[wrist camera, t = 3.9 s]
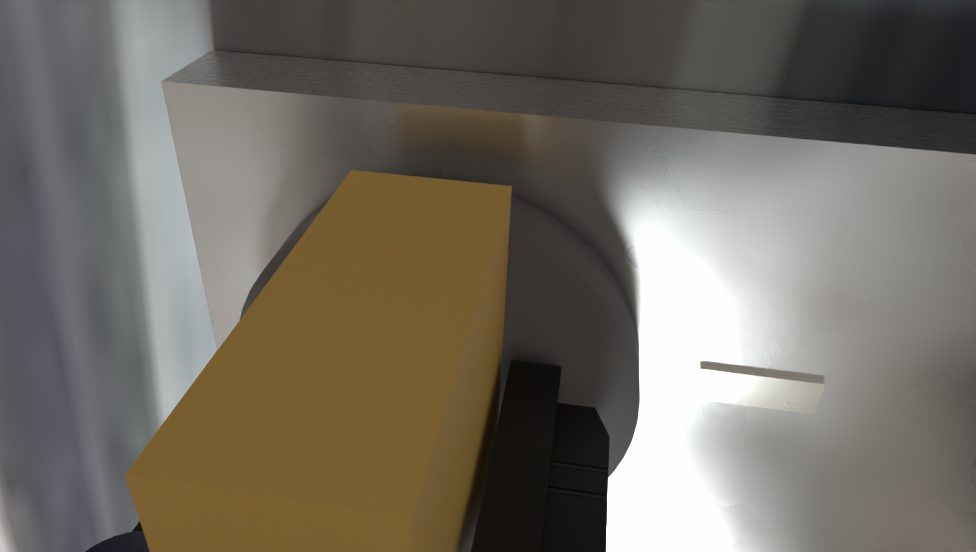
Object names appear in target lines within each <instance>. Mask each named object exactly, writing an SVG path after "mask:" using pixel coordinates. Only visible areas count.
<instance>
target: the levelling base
mask: <svg viewBox="0 0 976 552" xmlns="http://www.w3.org/2000/svg"><path fill="white" fill-rule="evenodd" d="M161 82H162V86H163V91H164V96H165V101H166V106H167V111H168V115H169V120H170V125H171V130H172V135H173V140H174V144H175V149H176V154H177V159H178V164H179V169H180V173H181V178H182V183H183V188H184V193H185V198H186V202H187V207H188V212H189V217H190V222H191V227H192V231H193V236H194V241H195V246H196V251H197V255H198V260H199V265H200V270H201V275H202V280H203V284H204V289H205V294H206V299H207V304H208V309H209V313H210V318H211V323H212V328H213V333H214V338H215V342H216V347H217V350H218V349H219V348H220V346H221V345H222V344H223V342H224V341H225V340H226V338H227V337H228V335H229V334H230V333H231V331H232V330H233V329H234V327H235V326H236V325H237V323H238V322H239V321H240V316H241V312H242V308H243V306H244V303H245V301H246V299H247V296H248V294H249V292H250V289H251V288H252V286H253V285H254V283H255V282H256V280H257V279H258V277H259V276H260V274H261V273H262V271H263V270H264V269H265V267H266V266H267V265H268V263H269V262H270V261H271V259H272V258H273V257H274V256H275V254H276V253H277V252H278V250H279V249H280V248H281V246H282V245H283V244H284V243H285V241H286V240H287V239H288V237H289V236H290V235H291V234H292V233H293V232H294V231H295V230H296V229H297V228H298V226H299V225H300V224H301V223H302V222H303V221H304V220H305V219H307V218H308V217H309V216H311V215H312V214H313V213H315V212H316V211H317V210H318V209H320V208H321V207H322V206H324V205H326V203H327V202H328V201H329V199H330V198H331V197H332V195H333V194H334V193H335V191H336V190H337V188H338V187H339V186H340V184H341V183H342V182H343V180H344V179H345V178H346V176H347V175H348V174H349V172H350V171H351V170H358V171H368V172H378V173H388V174H398V175H407V176H417V177H427V178H437V179H447V180H457V181H467V182H477V183H487V184H496V185H506V186H512V192H511V196H512V197H515V198H517V199H520V200H522V201H524V202H527V203H529V204H531V205H533V206H535V207H536V208H538V209H540V210H542V211H543V212H545V213H547V214H549V215H551V216H552V217H554V218H555V219H557V220H558V221H560V222H561V223H562V224H564V225H565V226H566V227H568V228H569V229H570V230H572V231H573V232H574V233H576V234H577V235H578V236H579V237H580V238H581V239H582V240H583V241H584V242H585V243H586V244H588V245H589V246H590V247H591V248H592V249H593V250H594V251H595V252H596V253H597V255H598V256H599V257H600V258H601V260H602V261H603V262H604V263H605V264H606V266H607V267H608V268H609V269H610V271H611V272H612V274H613V275H614V277H615V279H616V280H617V282H618V284H619V285H620V287H621V289H622V290H623V292H624V294H625V296H626V299H627V301H628V304H629V306H630V309H631V311H632V313H633V317H634V321H635V325H636V330H637V334H638V344H639V363H640V407H639V417H638V423H637V427H636V430H635V434H634V437H633V441H632V443H631V445H630V447H629V449H628V451H627V453H626V455H625V457H624V459H623V460H622V462H621V463H620V465H619V466H618V467H617V469H616V470H615V471H614V473H613V474H612V475H611V476H610V477H609V478H608V498H607V501H608V509H607V542H606V552H976V115H975V114H963V113H951V112H940V111H928V110H916V109H904V108H892V107H880V106H868V105H857V104H845V103H833V102H821V101H809V100H797V99H785V98H773V97H762V96H750V95H738V94H726V93H714V92H702V91H690V90H679V89H667V88H655V87H643V86H631V85H619V84H607V83H596V82H584V81H572V80H560V79H548V78H536V77H524V76H513V75H501V74H489V73H477V72H465V71H453V70H441V69H430V68H418V67H406V66H394V65H382V64H370V63H358V62H346V61H335V60H323V59H311V58H299V57H287V56H275V55H263V54H252V53H240V52H228V51H216V50H212V51H210V52H208V53H207V54H205V55H204V56H202V57H200V58H199V59H197V60H195V61H194V62H192V63H191V64H189V65H187V66H186V67H184V68H182V69H181V70H179V71H177V72H176V73H174V74H173V75H171V76H169V77H168V78H166V79H164V80H163V81H161Z"/></svg>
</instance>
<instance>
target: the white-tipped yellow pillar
mask: <svg viewBox="0 0 976 552" xmlns="http://www.w3.org/2000/svg"><path fill="white" fill-rule="evenodd" d="M511 192H512V186H506V185H496V184H487V183H477V182H467V181H457V180H447V179H437V178H427V177H417V176H407V175H398V174H388V173H378V172H368V171H358V170H351V171H350V172H349V174H348V175H347V176H346V178H345V179H344V180H343V182H342V183H341V184H340V186H339V187H338V188H337V190H336V191H335V193H334V194H333V195H332V197H331V198H330V199H329V201H328V202H327V203H326V205H324V206H322V207H321V208H320V209H318V210H317V211H316V212H315V213H313V214H312V215H311V216H309V217H308V218H307V219H305V220H304V221H303V222H302V223H301V224H300V225H299V226H298V228H297V229H296V230H295V231H294V232H293V233H292V234H291V235H290V236H289V237H288V239H287V240H286V241H285V243H284V244H283V245H282V246H281V248H280V249H279V250H278V252H277V253H276V254H275V256H274V257H273V258H272V259H271V261H270V262H269V263H268V265H267V266H266V267H265V269H264V270H263V271H262V273H261V274H260V276H259V277H258V279H257V280H256V282H255V283H254V285H253V286H252V288H251V289H250V292H249V294H248V296H247V299H246V301H245V303H244V306H243V308H242V312H241V316H240V321H239V322H238V323H237V325H236V326H235V327H234V329H233V330H232V331H231V333H230V334H229V335H228V337H227V338H226V340H225V341H224V342H223V344H222V345H221V346H220V348H219V349H218V350H217V352H216V353H215V354H214V356H213V357H212V358H211V360H210V361H209V362H208V364H207V365H206V366H205V368H204V369H203V371H202V372H201V373H200V375H199V376H198V377H197V379H196V380H195V381H194V383H193V384H192V385H191V387H190V388H189V389H188V391H187V392H186V393H185V395H184V396H183V398H182V399H181V400H180V402H179V403H178V404H177V406H176V407H175V408H174V410H173V411H172V412H171V414H170V415H169V416H168V418H167V419H166V420H165V422H164V423H163V424H162V426H161V427H160V429H159V430H158V431H157V433H156V434H155V435H154V437H153V438H152V439H151V441H150V442H149V443H148V445H147V446H146V447H145V449H144V450H143V451H142V453H141V454H140V455H139V457H138V458H137V460H136V461H135V462H134V464H133V465H132V466H131V468H130V469H129V470H128V472H127V473H126V474H125V478H126V481H127V484H128V487H129V490H130V493H131V496H132V499H133V502H134V505H135V508H136V511H137V514H138V517H139V520H140V523H141V526H142V529H143V532H144V535H145V538H146V541H147V544H148V547H149V550H150V552H471V549H472V544H473V539H474V534H475V529H476V525H477V520H478V515H479V510H480V506H481V501H482V496H483V491H484V487H485V482H486V477H487V472H488V467H489V463H490V458H491V453H492V448H493V444H494V439H495V434H496V429H497V424H498V420H499V415H500V410H501V405H502V401H503V396H504V391H505V386H506V382H507V377H508V372H509V367H510V363H511V360H518V361H526V362H534V363H542V364H549V365H557V366H562V369H561V378H560V387H559V395H558V403H564V404H571V405H579V406H586V407H594V408H596V410H597V412H598V414H599V416H600V418H601V420H602V422H603V424H604V426H605V428H606V430H607V432H608V434H609V436H610V444H609V470H608V474H609V477H610V476H611V475H612V474H613V473H614V471H615V470H616V469H617V467H618V466H619V465H620V463H621V462H622V460H623V459H624V457H625V455H626V453H627V451H628V449H629V447H630V445H631V443H632V441H633V437H634V434H635V430H636V427H637V423H638V417H639V407H640V363H639V344H638V334H637V330H636V325H635V321H634V317H633V313H632V311H631V309H630V306H629V304H628V301H627V299H626V296H625V294H624V292H623V290H622V289H621V287H620V285H619V284H618V282H617V280H616V279H615V277H614V275H613V274H612V272H611V271H610V269H609V268H608V267H607V266H606V264H605V263H604V262H603V261H602V260H601V258H600V257H599V256H598V255H597V253H596V252H595V251H594V250H593V249H592V248H591V247H590V246H589V245H588V244H586V243H585V242H584V241H583V240H582V239H581V238H580V237H579V236H578V235H577V234H576V233H574V232H573V231H572V230H570V229H569V228H568V227H566V226H565V225H564V224H562V223H561V222H560V221H558V220H557V219H555V218H554V217H552V216H551V215H549V214H547V213H545V212H543V211H542V210H540V209H538V208H536V207H535V206H533V205H531V204H529V203H527V202H524V201H522V200H520V199H517V198H515V197H512V196H511ZM609 477H608V478H609Z"/></svg>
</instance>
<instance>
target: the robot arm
mask: <svg viewBox="0 0 976 552" xmlns="http://www.w3.org/2000/svg"><path fill="white" fill-rule="evenodd" d="M561 369H562V366H557V365H549V364H542V363H534V362H526V361H518V360H511V363H510V367H509V372H508V377H507V382H506V386H505V391H504V396H503V401H502V405H501V410H500V415H499V420H498V424H497V429H496V434H495V439H494V444H493V448H492V453H491V458H490V463H489V467H488V472H487V477H486V482H485V487H484V491H483V496H482V501H481V506H480V510H479V515H478V520H477V525H476V529H475V534H474V539H473V544H472V549H471V552H606V542H607V509H608V501H607V498H608V477H609V474H608V470H609V444H610V436H609V434H608V432H607V430H606V428H605V426H604V424H603V422H602V420H601V418H600V416H599V414H598V412H597V410H596V408H594V407H586V406H579V405H571V404H564V403H558V395H559V387H560V378H561ZM85 552H150V550H149V547H148V544H147V541H146V538H145V535H144V532H143V529H142V526H141V523H140V521H139V523H138V524H137V526H136V527H135V528H134V530H133V531H132V532H127V533H123V534H120V535H116V536H113V537H111V538H108V539H106V540H104V541H102V542H100V543H98V544H96V545H94V546H92V547H91V548H90V549H88V550H87V551H85Z"/></svg>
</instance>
